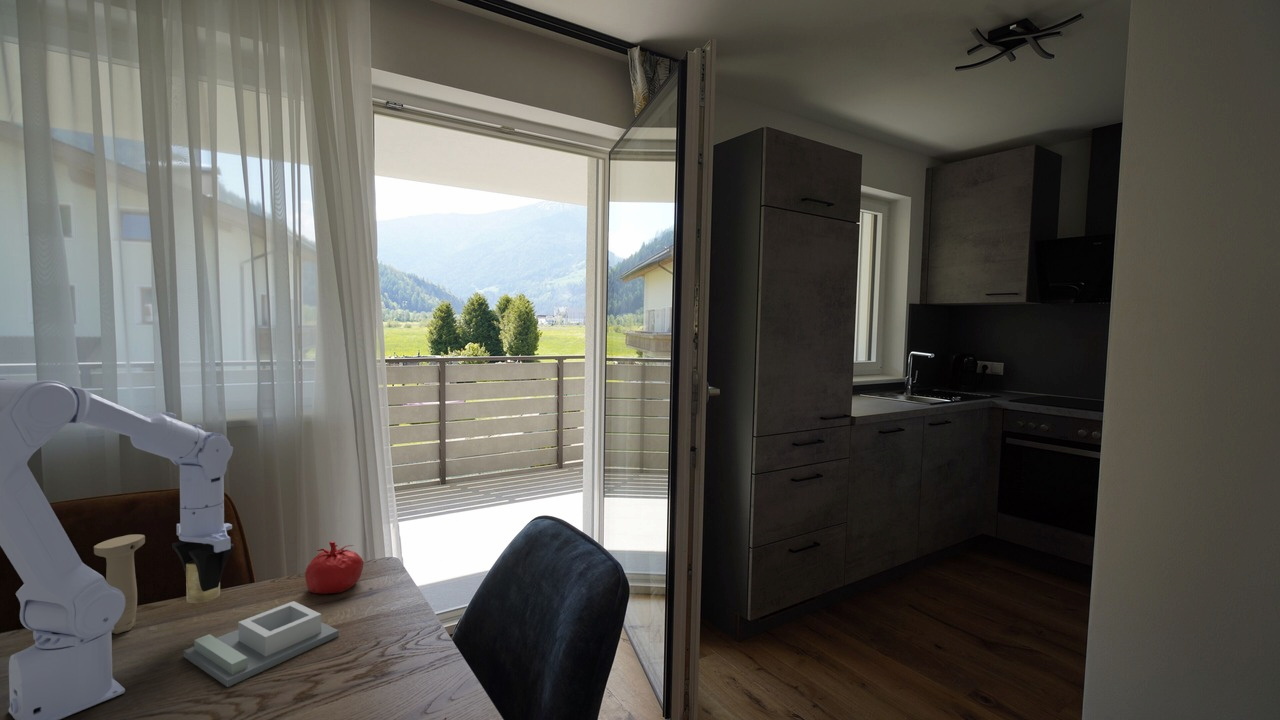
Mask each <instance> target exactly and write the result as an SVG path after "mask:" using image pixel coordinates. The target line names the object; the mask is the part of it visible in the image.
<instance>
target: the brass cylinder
mask: <svg viewBox="0 0 1280 720" xmlns="http://www.w3.org/2000/svg"><path fill="white" fill-rule="evenodd" d="M185 577H186V578H185V580H186V583H185V585H186V587H185V588H186V590H185V591H186V593H185V594H186V603H189V604H199V603H205V602H209V601H212V600H214V599H216V598H218V597H219V596H220V595H221V582H220V583H219V586H218V587H217V588H214V589H211V590H208V591H202V589H201V586H200V582H199V576H198V571H197V567H196V565H195V562H194V560H191V561H189V562H188V563H187V564H186V575H185Z"/></svg>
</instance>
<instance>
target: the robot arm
mask: <svg viewBox="0 0 1280 720" xmlns="http://www.w3.org/2000/svg"><path fill="white" fill-rule="evenodd" d="M176 418H177V414H175V413H173V412H169V411H168V412H167V411H164V412H162V413H160V412H154V413H150V414H147V415H142V414H141V413H138V412H135V411H133V410H131V409H129V408H126V407H125V406H122V405H120V404H117V403H115V402H113V401H111V400H108V399H105V398H103V397H100V396H98V395H96V394H93V393H92V392H90V391H87V390H86V389H84V388H82V387H77V386H71V385H67V384H65V383H63V382H61V381H57V380H47V379H46V380H18V379H17V380H16V379H13V380H12V379H6V378H0V548H1V549H2V550H3V552H4V554H5V555H6V557H7V559H8V560H9V562H10V563H11V565H12V566H13V568H14V570H15V571H16V573H17V574H18V576H19V577H20V579H21V581H22V582H23V584H22V586H20V588H19V589H18V590H17V591H16V592H15V595H16V598H17V599H18V602H19V605H20V609H19V620H20V623H21V624H22V626H23V627H24V628H25V629H28V630H30V631H32V635H33V636H32V638H33V640H34V641H35V642H34V644H32V645H30V646H28V647H27V648H25V649H22V650H20V651H18V652H16V653H13V654H11V655H10V657H9V661H8V682H9V683H8V687H9V688H8V689H9V708H8V712H9V714H10V716H12V718H13V719H14V720H62V719H65V718H66V717H69V716H71V715H74V714H76V713H79V712H81V711H83V710H86V709H88V708H92V707H93V706H96V705H98V704H101V703H103V702H106V701H108V700H110V699H113V698H115V697H117V696H120V695H122V694H124V693H125V692H126V688H125V687H123V686H122V685H121V684H120V683H119V682H118V681H116V680H115V678H114V677H113V651H112V650H113V646H112V645H113V644H112V643H113V640H112V633H111V631H112V630H113V629H114V625H115V624H116V623H117V622H118V620H119V619H120V617H121V616H122V614H123V611H124V608H125V596H124V594H123V593H122V591H121V590H119V589H117V588H115V587H112V586H110V585H109V584H108V583H107V582H106V577H104V576H103V574H100V573H99V572H98V571H96V570H94V569H92V568H91V567H90V566H88V565H87V564H85V563H84V562H83V561H82V559H81V557H80V555H79V554H78V552H77V550H76V548H75V547H74V545H73V543H72V542H71V540H70V538H69V536H68V534H67V533H66V531H65V529H64V527H63V526H62V523H61V522H60V520H59V519H58V518H59V517H57V515H56V513H55V511H54V510H53V508H52V506H51V504H50V503H49V501H48V499H47V497H46V496H45V494H44V492H43V490H42V489H41V487H40V485H39V483H38V482H37V479H36V478H35V476H34V474H33V473H32V471H31V470H30V467H29V466H28V462H29V460H30V459H31V457H32V456H33V455H34V453H35V452H37V451H38V450H39V449H41V447H43V446H44V445H45V444H46V443H47V442H48V441H50V440H51V439H52V438H54V436H56V435H57V434H58V432H60V431H61V430H62V429H64V427H66V426H67V424H79V423H81V424H85V425H88V426H93V427H96V428H99V429H103V430H105V431H106V430H107V431H110V432H114V433H116V434H120V435H124V436H127V437H129V438H130V443H131V444H132V446H133V447H134V448H136V449H138V450H141V451H144V452H147V453H149V454H153V455H157V456H160V457H162V458H166V459H169V460H170V461H171V462H172V463H173V464H174V465H175V466H179V517H180V518H179V519H180V520H179V523H176V536H178V539H179V541H175V542H173V543H171V548H172V549H173V550H174V551H175V553H176V554H177V556H178V558H179V560H180V563H181V565H182V568H183V571H184V575H185V576H186V564H187V563H188V562H189V561H191V560H194V562H195V565H196V567H197V571H198V576H199V582H200V586H201V589H202V591H208V590H211V589H214V588H217V587H218V586H219V583H220V584H221V579H222V576H223V571H224V568H225V565H226V562H227V560H228V559H229V557H230V555H231V553H232V552H233V550H234V547H235V544H234V543H232V542H231V541H232V540H231V536H229V535H228V531H229V530H232V529H233V524H231V523H228V522H225V486H224V484H225V482H224V481H225V480H224V479H225V477H224V476H225V475H226V473H227V468H228V467H227V466H228V462H229V460H230V459H231V457H232V455H233V453H234V452H233V450H234V446H231V443H230V440H229V439H228V438H227V436H226V435H225V434H223V433H221V432H220V433H219V432H212V431H211V432H209V431H205V430H203V426H202V425H200V424H198V423H197V424H196V423H192V424H190V423H186V422H184V421H181V420H179V419H176Z"/></svg>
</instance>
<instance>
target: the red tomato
mask: <svg viewBox="0 0 1280 720" xmlns="http://www.w3.org/2000/svg"><path fill="white" fill-rule="evenodd" d="M353 546H355V545H354V544H352V545H351V544H349V545H345V546H342V547H341V548H339V549H338V544H336V542H335V541H333V540H331V541H329V547H330V550H328V549H327V548H320V549H318V548H317V549H316V551H318V552H320V553H318V554H317V555H316V556H315V557H314V558H313V559H312V560H311V561H310V562H309V564H308V565H307V567H306V569H305V572H304V578H305V583H306V587H307V589H308V590H309V591H310V592H311V593H314V594H318V595H321V594H324V595H329V594H337V593H338V594H340V593H343V592H345V591H346V590H349V589H351V588H352V587H353V586H354V585H356V583H357V582H358V581H359V579H360V578H361V575H362V572H363V568H364V560H363V558H362V557H361V556H360V555H359V554H358V553H357V552H355V551H352V550H350V549H345V548H348V547H353Z"/></svg>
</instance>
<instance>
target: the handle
mask: <svg viewBox="0 0 1280 720" xmlns="http://www.w3.org/2000/svg"><path fill="white" fill-rule="evenodd" d="M145 543H146V536H145V534H137V533H136V534H126V535H123V536H117V537H114V538H110V539H107V540H104V541H102V542H100V543H97V544H96V545H94V546H93V554H94V555H95V556H97V557H103V558H105V560H106V561H105V562H106V573H105V575H106V577H105V580H106V582H107V583H108V584H109V585H110V586H112V587H115V588H117V589H119V590H121V591H122V593H123V594H124V596H125V608H124V611H123V614H122V616H121V617H120V619H119V620H118V622H117V623H116V624H115V625H114V629H113V630H112V631H111V634H115V635H116V634H117V635H118V634H120V633H124V632H128V631H130V630H132V629H133V627H134V626H135V625H136V620H137V618H136V616H137V610H138V609H137V607H138V587H137V578H136V567H135V552H136V551H137V550H138V549H139V548H141V547H143V545H144V544H145Z"/></svg>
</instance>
